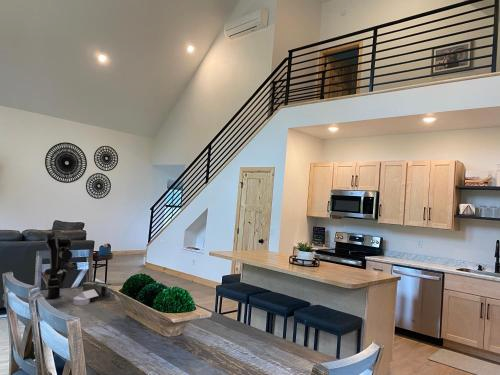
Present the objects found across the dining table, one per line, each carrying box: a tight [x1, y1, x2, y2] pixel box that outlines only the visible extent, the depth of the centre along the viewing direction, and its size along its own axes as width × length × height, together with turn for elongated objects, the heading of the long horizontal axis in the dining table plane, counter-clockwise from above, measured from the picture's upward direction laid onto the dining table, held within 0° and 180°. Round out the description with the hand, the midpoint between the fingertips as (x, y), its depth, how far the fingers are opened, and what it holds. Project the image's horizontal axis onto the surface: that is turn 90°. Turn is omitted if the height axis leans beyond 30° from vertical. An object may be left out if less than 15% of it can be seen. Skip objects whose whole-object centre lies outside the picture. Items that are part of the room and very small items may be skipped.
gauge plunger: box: [86, 280, 112, 300], centre depth 230 cm, size 18×6×9 cm, turn 69°
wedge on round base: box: [72, 289, 99, 306], centre depth 220 cm, size 9×7×13 cm
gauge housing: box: [82, 281, 116, 302], centre depth 231 cm, size 22×4×8 cm, turn 69°
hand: (61, 284), depth 215 cm, fingers closed
